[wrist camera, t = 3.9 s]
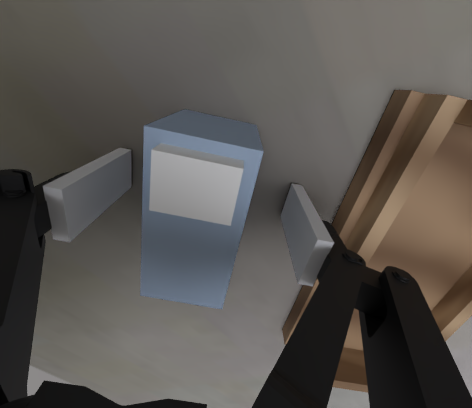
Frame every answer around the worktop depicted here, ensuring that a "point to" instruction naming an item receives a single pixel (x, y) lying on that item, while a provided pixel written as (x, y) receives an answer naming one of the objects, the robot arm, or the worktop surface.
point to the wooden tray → (410, 214)
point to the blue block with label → (195, 204)
